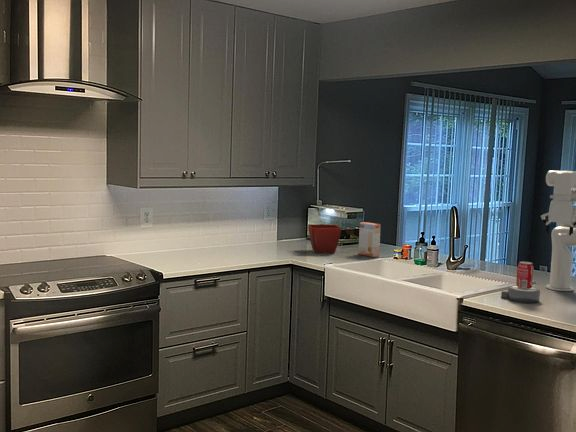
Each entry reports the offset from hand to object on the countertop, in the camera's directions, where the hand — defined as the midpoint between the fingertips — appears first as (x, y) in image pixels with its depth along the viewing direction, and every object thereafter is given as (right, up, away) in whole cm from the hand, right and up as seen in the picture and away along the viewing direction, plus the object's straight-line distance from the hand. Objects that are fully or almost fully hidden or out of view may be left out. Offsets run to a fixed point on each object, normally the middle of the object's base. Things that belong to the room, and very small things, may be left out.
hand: (559, 234), depth 301 cm
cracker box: (-77, -17, +105) cm, 131 cm away
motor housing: (-21, -30, -6) cm, 37 cm away
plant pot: (-105, -15, +116) cm, 157 cm away
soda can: (-19, -25, -8) cm, 32 cm away
